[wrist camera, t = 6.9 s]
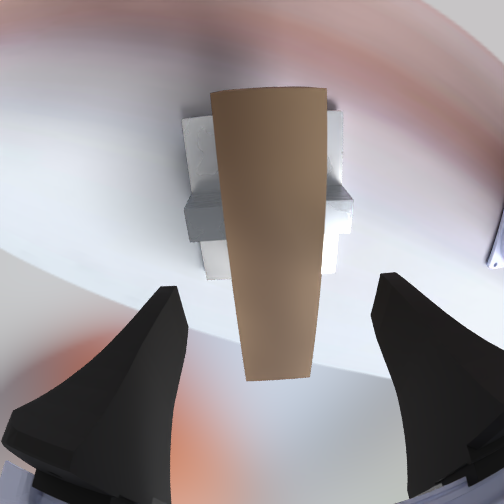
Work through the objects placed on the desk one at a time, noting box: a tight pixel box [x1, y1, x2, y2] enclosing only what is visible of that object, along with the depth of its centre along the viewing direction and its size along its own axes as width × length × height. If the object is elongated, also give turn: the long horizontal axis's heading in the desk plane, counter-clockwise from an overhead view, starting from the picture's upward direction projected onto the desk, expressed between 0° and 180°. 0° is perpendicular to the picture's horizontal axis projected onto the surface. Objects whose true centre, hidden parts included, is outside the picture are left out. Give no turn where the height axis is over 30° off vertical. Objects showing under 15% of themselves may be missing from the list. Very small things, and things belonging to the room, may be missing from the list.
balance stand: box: [182, 110, 354, 280], centre depth 17 cm, size 9×11×3 cm
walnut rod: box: [210, 87, 327, 381], centre depth 14 cm, size 4×14×5 cm, turn 4°
